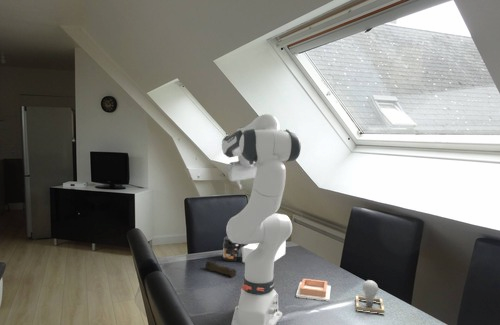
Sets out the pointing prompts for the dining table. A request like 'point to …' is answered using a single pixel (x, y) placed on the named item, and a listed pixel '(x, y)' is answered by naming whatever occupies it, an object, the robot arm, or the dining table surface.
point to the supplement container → (231, 250)
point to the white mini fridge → (251, 247)
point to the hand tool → (220, 268)
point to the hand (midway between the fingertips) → (250, 187)
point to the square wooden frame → (368, 307)
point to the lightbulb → (370, 291)
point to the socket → (313, 290)
